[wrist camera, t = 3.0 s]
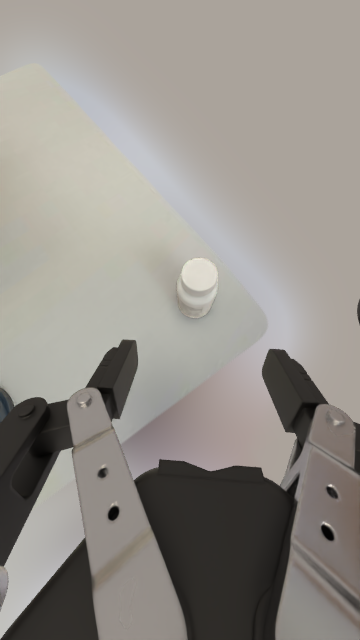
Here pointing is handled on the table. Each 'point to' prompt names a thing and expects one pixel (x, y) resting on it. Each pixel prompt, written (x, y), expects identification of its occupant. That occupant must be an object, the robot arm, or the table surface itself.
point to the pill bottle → (197, 287)
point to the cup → (5, 404)
